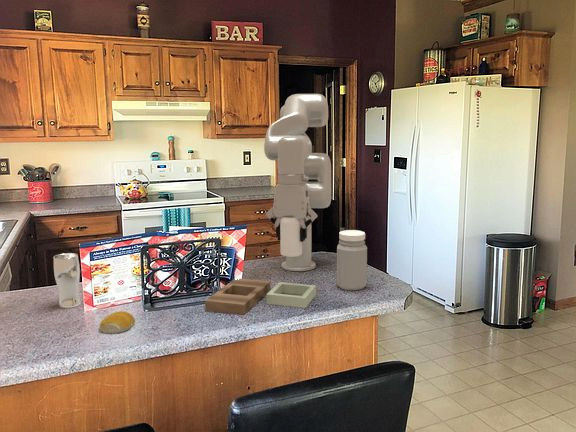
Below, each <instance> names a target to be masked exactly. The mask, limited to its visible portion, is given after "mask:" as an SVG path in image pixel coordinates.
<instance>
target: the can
mask: <svg viewBox="0 0 576 432" xmlns="http://www.w3.org/2000/svg"><path fill="white" fill-rule="evenodd" d="M300 229H301V224H300V221H299V219H296V218H295V217H284V216H283V218H281V220H280V240H279V241H280V242H279V243H280V244H279V245H280V248H279V249H280V255H281V256H282V257H285V258H286V257H299V256H301V254H302V242H301V241H300Z"/></svg>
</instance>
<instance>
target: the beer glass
mask: <svg viewBox="0 0 576 432" xmlns="http://www.w3.org/2000/svg"><path fill="white" fill-rule="evenodd" d="M52 258H53V274H54V279H55V283H56V287H57V290H58V293H59V296H58V297H59V300H58V307H59V308H61V309H70V308H75V307H78V306H81V303H82V300H81V297H80V291H79V289H80V288H79V287H80V277H81V275H80V274H81V269H80V261H79V255H78V253H75V252H67V253H66V252H65V253H64V252H63V253H60V254H59V253H58V254H55V255H54V256H53V257H52Z"/></svg>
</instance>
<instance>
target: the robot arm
mask: <svg viewBox="0 0 576 432" xmlns="http://www.w3.org/2000/svg"><path fill="white" fill-rule="evenodd" d="M284 102H285V103H284V105H283V106H281V108H280V112H279V119H278V120H275V121H274V122H273V123H271V124H270V125H269V127H268V128H267V131H266V133H265V138H264V143H263V145H264V146H263V150H264V151H263V152H264V155H265V157H266V158H267V159H268V160H269V161H276V162H277V184H275V189H274V196H273V206H271V207H270V209H268V210H267V211H266V212H265V216H266V217H267V218H268V219H269V220H270V222H271V223H272V224H273V225H274V227H275V237H276V238H277V241H280V220H281V218H283V216H284V217H295V218H296V219H299V221H300V224H301V229H300V241H301V242H302V254H301V256H299V257H285V261H283V262H281V266H280V267H281V268H282V269H283V270H285V271H289V272H305V271H311V270H314V269H315V268H316V267H317V266H316V262H315V261H312V223H313V222H314V221H315V220H316V219H317V218H318V214H317V213H316V212H315V211H314V210H313V209H325V208H326V209H327V208H328V207H330V205H331V201H332V164H331V159H330V156H329V155H328V154H327V153H324V152H312V150H313V146H312V145H313V144H312V141H311V139H310V137H309V136H308V135H307V133H306V131H307V130H308V128H321V127H324V126H326V125H327V123H328V121H329V105H328V100H327V99H326V97H325V96H324V94H320V93H295V94H291V95H290V96H288V97H287V98H286V100H285V101H284ZM309 180H317V181H309Z"/></svg>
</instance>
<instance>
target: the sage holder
mask: <svg viewBox="0 0 576 432" xmlns="http://www.w3.org/2000/svg"><path fill="white" fill-rule="evenodd" d="M265 296H266V298H265V299H266V305H273V306H284V307H293V308H301V309H306V308H307V307H308V306H309V304H310V303H312V300H313V299H314V298H315V297H316V296H317V285H314V284H313V285H312V284H304V283H303V284H302V283H292V282H291V283H290V282H281V281H280V282H278V283H277V284H276V285H274V287H273V288H271V290H270V291H269V292H268V293H267V294H266V295H265Z"/></svg>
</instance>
